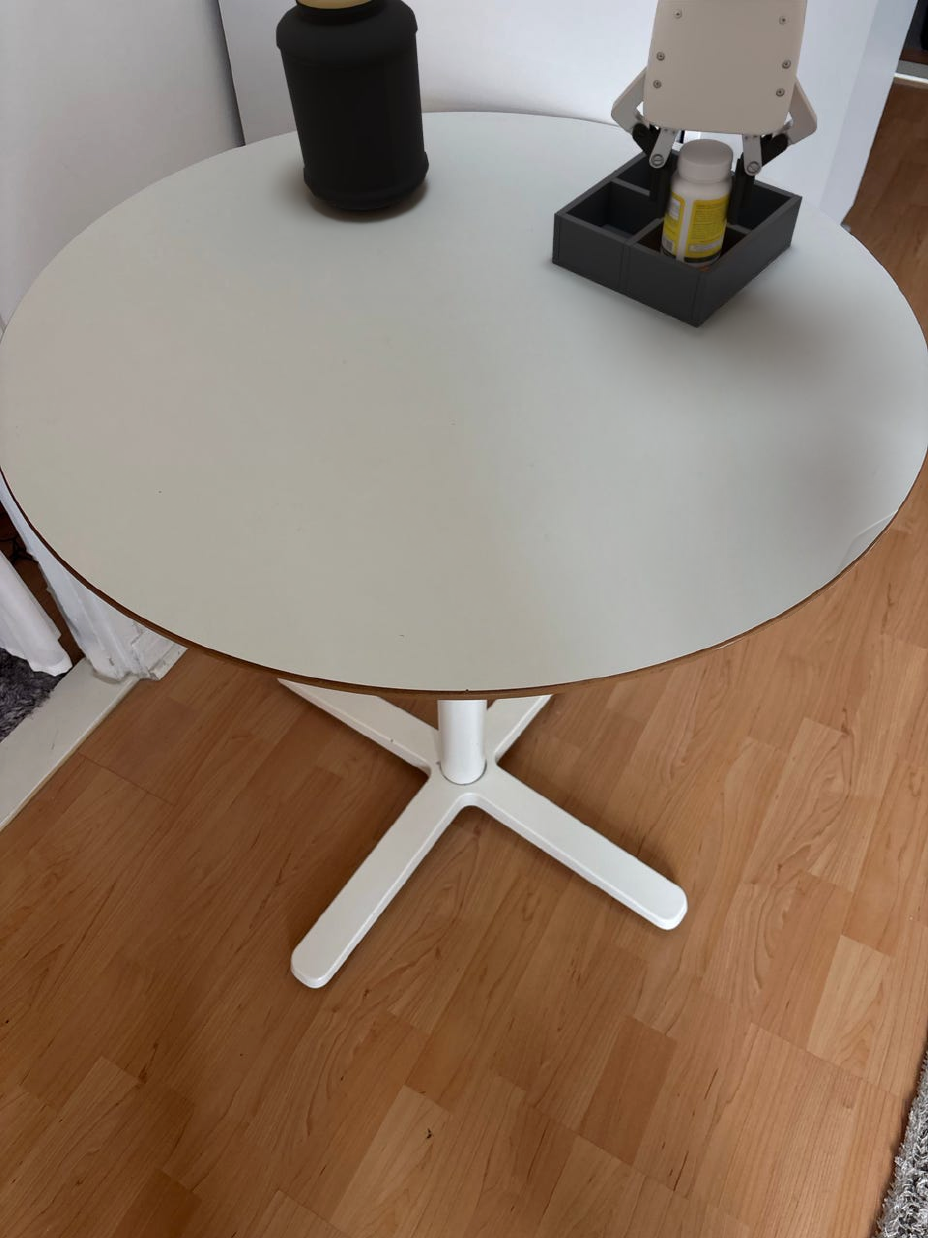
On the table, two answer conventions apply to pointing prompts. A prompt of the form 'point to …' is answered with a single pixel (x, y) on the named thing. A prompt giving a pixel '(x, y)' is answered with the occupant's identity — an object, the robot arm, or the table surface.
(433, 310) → the table surface
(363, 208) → the container
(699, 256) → the supplement bottle
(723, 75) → the robot arm
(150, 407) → the table surface
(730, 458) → the table surface
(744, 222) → the box
